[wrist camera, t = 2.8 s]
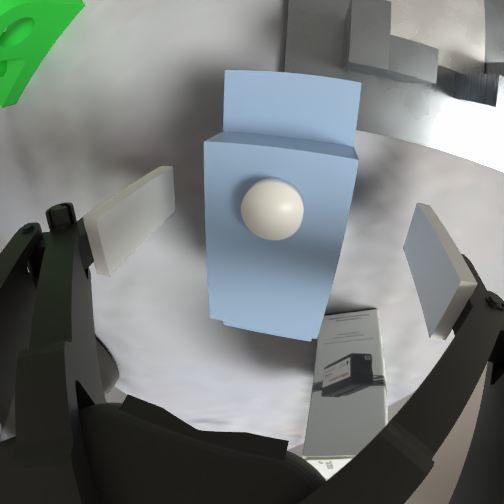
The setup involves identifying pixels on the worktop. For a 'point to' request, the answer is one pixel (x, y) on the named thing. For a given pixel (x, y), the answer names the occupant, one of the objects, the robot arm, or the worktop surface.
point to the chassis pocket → (412, 67)
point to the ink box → (346, 390)
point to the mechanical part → (29, 39)
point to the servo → (278, 199)
